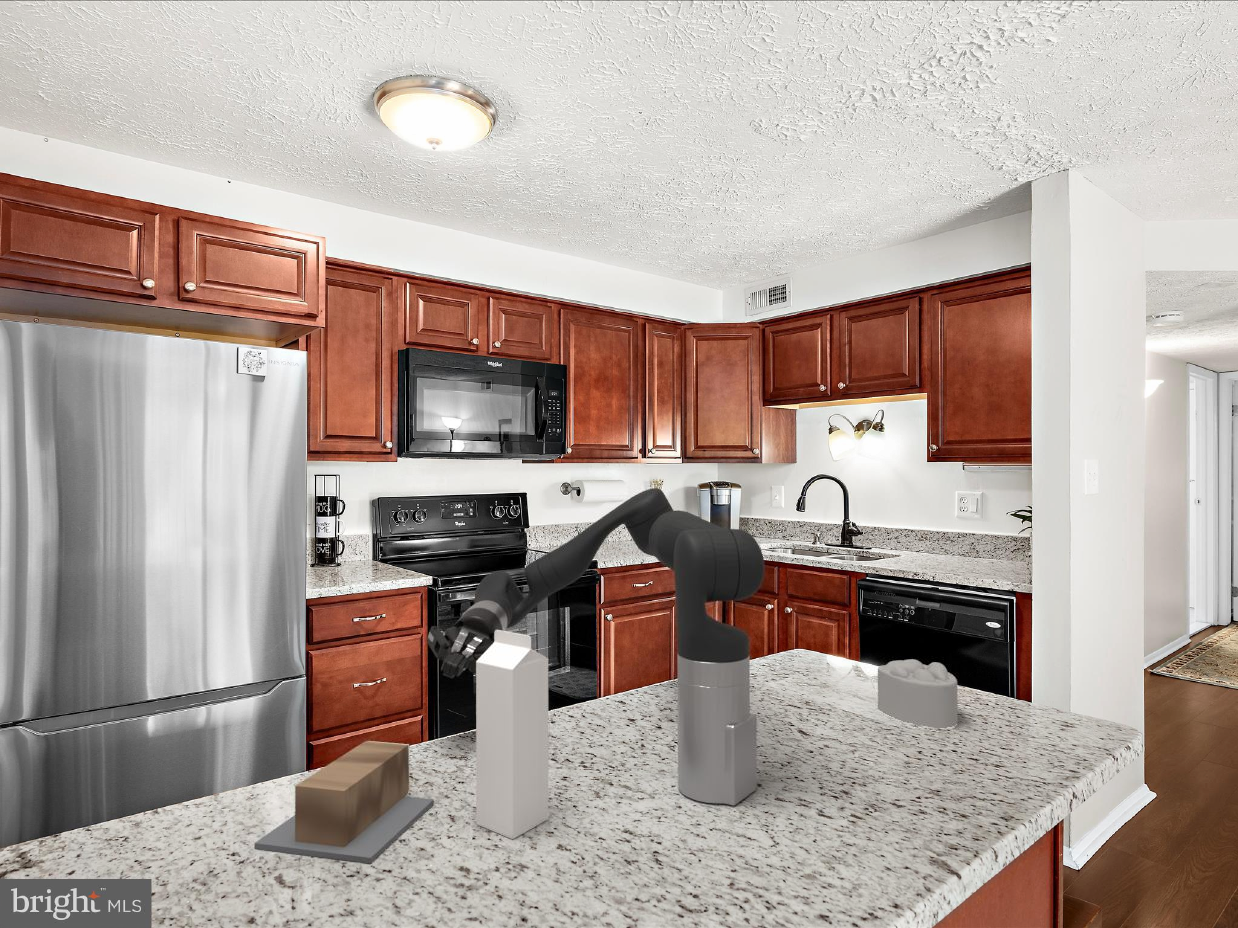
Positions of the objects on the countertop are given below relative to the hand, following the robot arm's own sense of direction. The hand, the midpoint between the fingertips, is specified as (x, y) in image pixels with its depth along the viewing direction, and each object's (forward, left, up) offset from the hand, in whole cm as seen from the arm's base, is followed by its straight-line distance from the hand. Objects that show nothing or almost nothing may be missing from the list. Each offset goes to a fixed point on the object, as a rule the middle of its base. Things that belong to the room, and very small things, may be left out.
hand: (449, 670), depth 104 cm
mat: (-6, +19, -13) cm, 24 cm away
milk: (-21, +7, -13) cm, 25 cm away
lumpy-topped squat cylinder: (-48, -60, -13) cm, 77 cm away
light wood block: (-3, +12, -9) cm, 15 cm away
